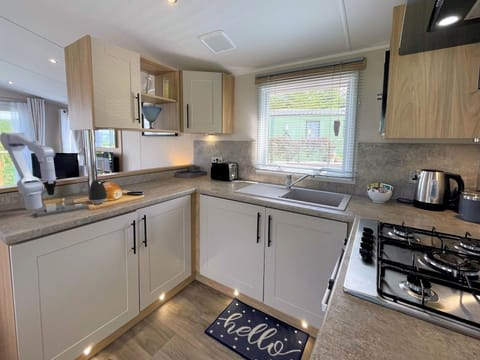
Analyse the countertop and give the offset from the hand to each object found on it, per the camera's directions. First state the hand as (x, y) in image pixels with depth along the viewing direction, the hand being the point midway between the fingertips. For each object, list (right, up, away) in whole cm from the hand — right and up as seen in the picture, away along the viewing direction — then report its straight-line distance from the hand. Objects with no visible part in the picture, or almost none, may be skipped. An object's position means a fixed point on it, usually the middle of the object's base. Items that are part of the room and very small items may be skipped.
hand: (51, 194), depth 125 cm
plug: (+2, -9, -2) cm, 10 cm away
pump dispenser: (+13, -7, +20) cm, 25 cm away
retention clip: (+3, -4, -2) cm, 5 cm away
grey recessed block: (+6, -10, +2) cm, 11 cm away
